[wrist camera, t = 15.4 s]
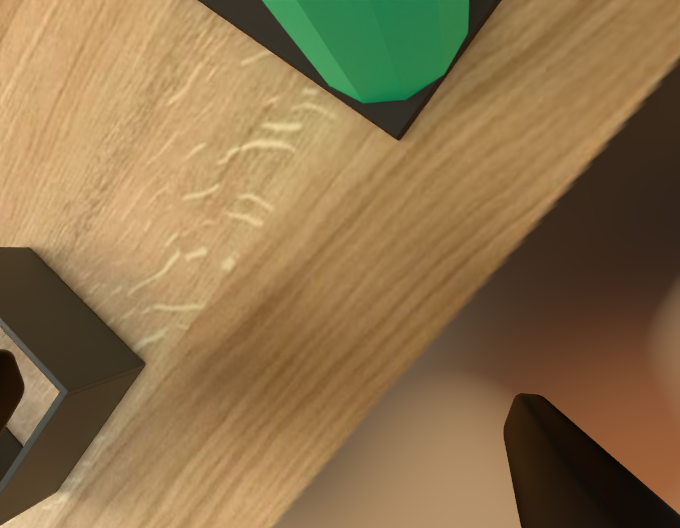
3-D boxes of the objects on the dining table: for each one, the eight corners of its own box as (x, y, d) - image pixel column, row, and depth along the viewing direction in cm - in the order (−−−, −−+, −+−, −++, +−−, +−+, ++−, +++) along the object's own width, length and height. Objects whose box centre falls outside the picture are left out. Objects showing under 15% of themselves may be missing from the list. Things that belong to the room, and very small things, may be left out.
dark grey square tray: (145, 364, 20) (68, 391, 16) (55, 492, 21) (-34, 546, 17) (29, 247, 21) (-66, 245, 17) (-46, 374, 23) (-148, 399, 19)
